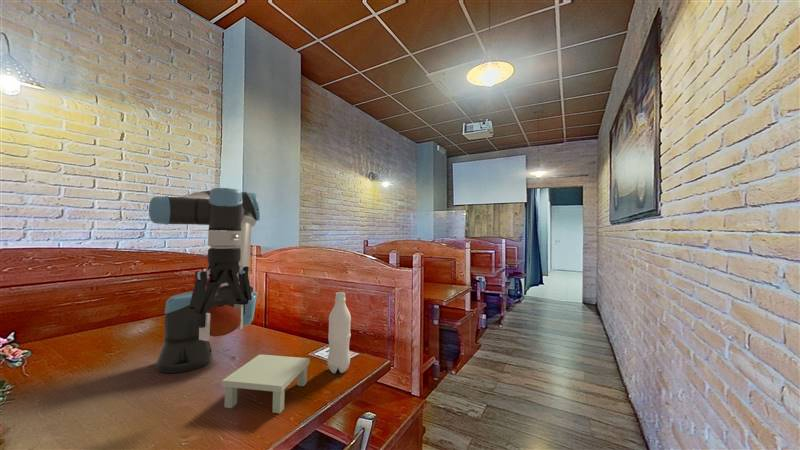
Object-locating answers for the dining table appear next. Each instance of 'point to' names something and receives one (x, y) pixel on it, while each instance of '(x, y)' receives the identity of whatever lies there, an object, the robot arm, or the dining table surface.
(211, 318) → the fruit
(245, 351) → the dining table surface
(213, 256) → the robot arm
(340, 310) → the water bottle
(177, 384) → the dining table surface
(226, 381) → the small white table
